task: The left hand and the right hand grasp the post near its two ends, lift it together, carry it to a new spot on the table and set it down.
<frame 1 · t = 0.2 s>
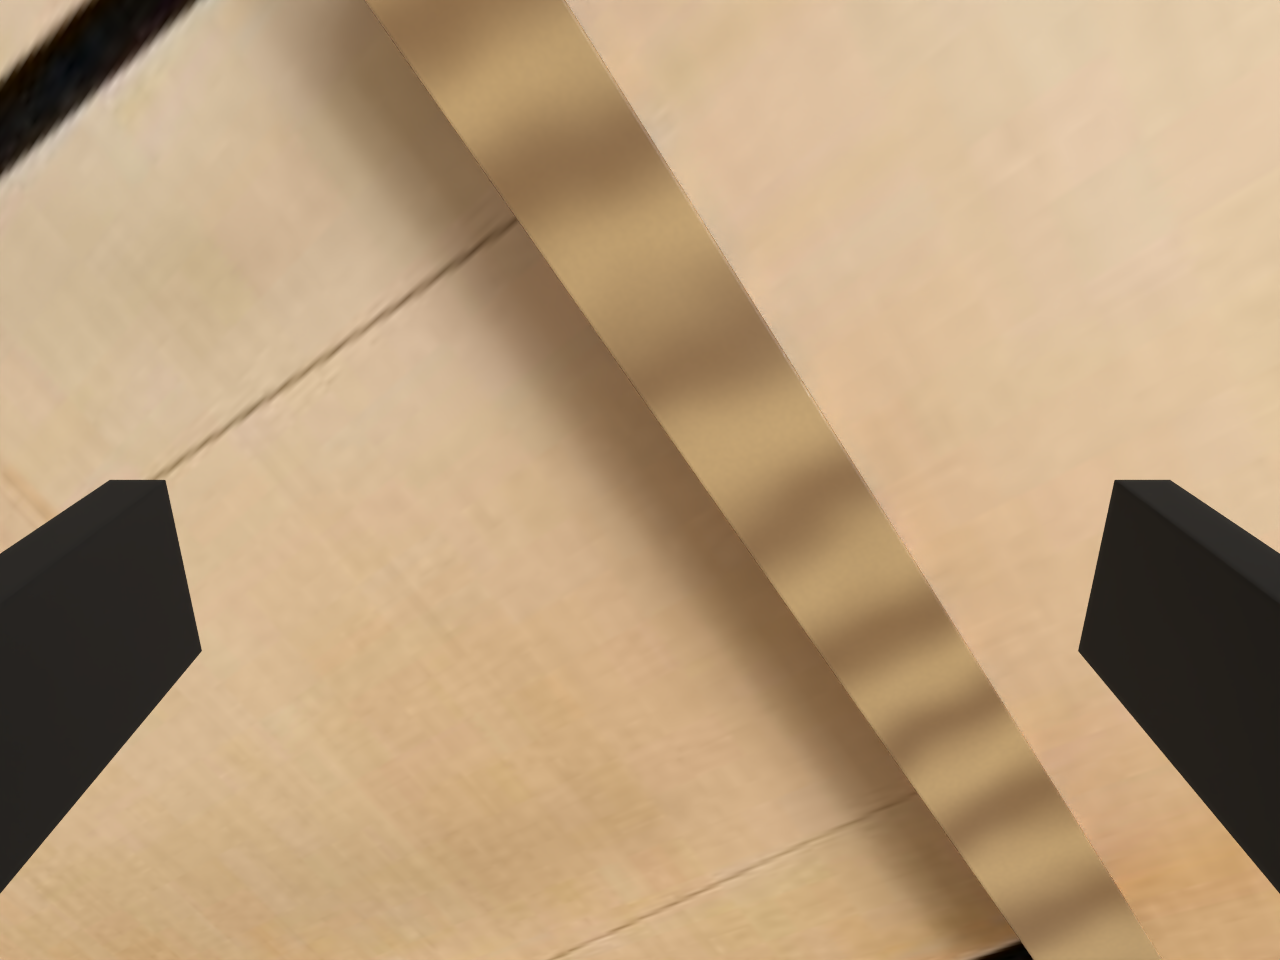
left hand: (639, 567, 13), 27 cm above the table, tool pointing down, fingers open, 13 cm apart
post: (829, 526, 42), on the table
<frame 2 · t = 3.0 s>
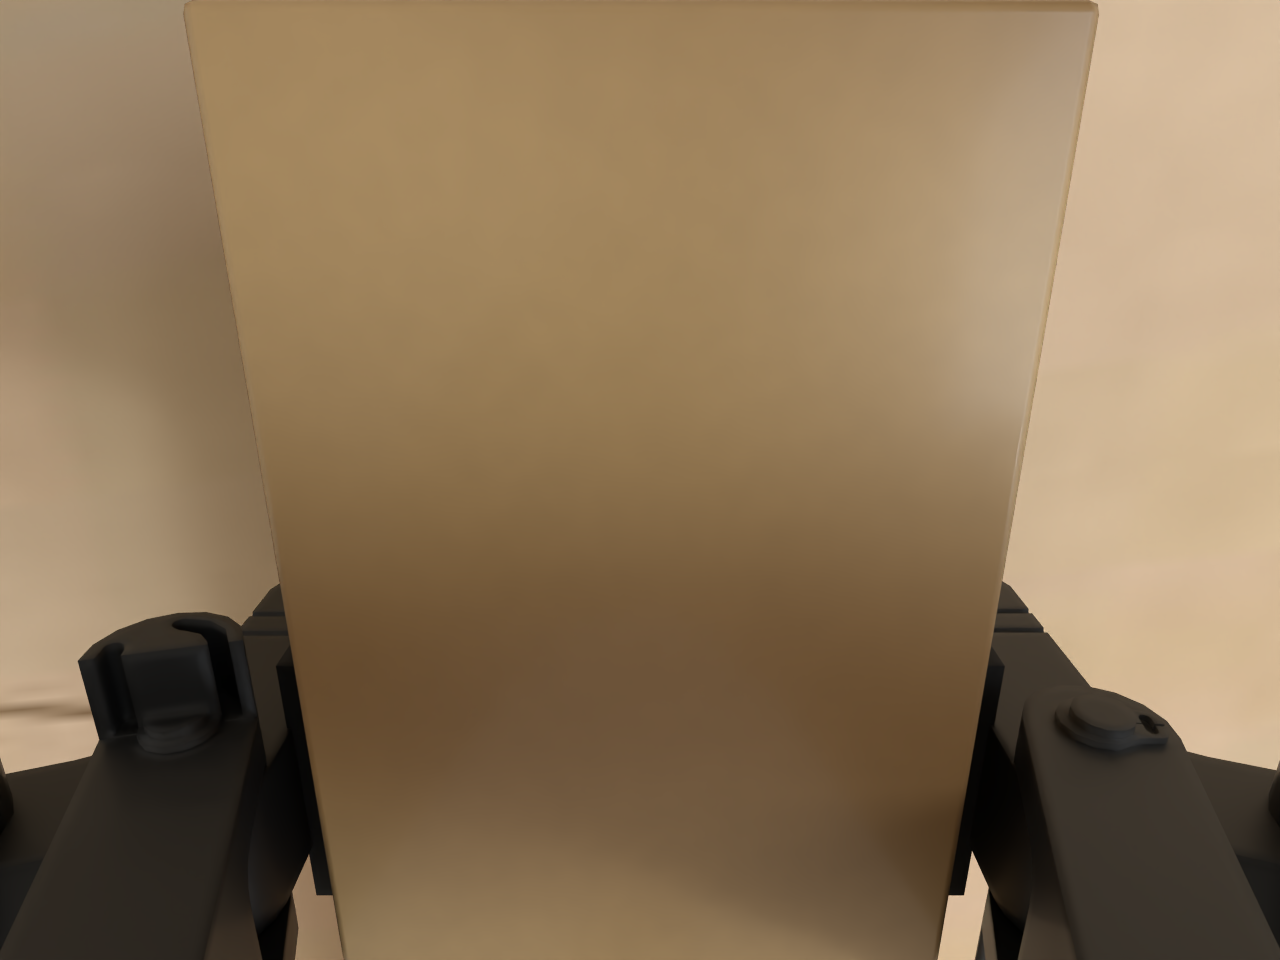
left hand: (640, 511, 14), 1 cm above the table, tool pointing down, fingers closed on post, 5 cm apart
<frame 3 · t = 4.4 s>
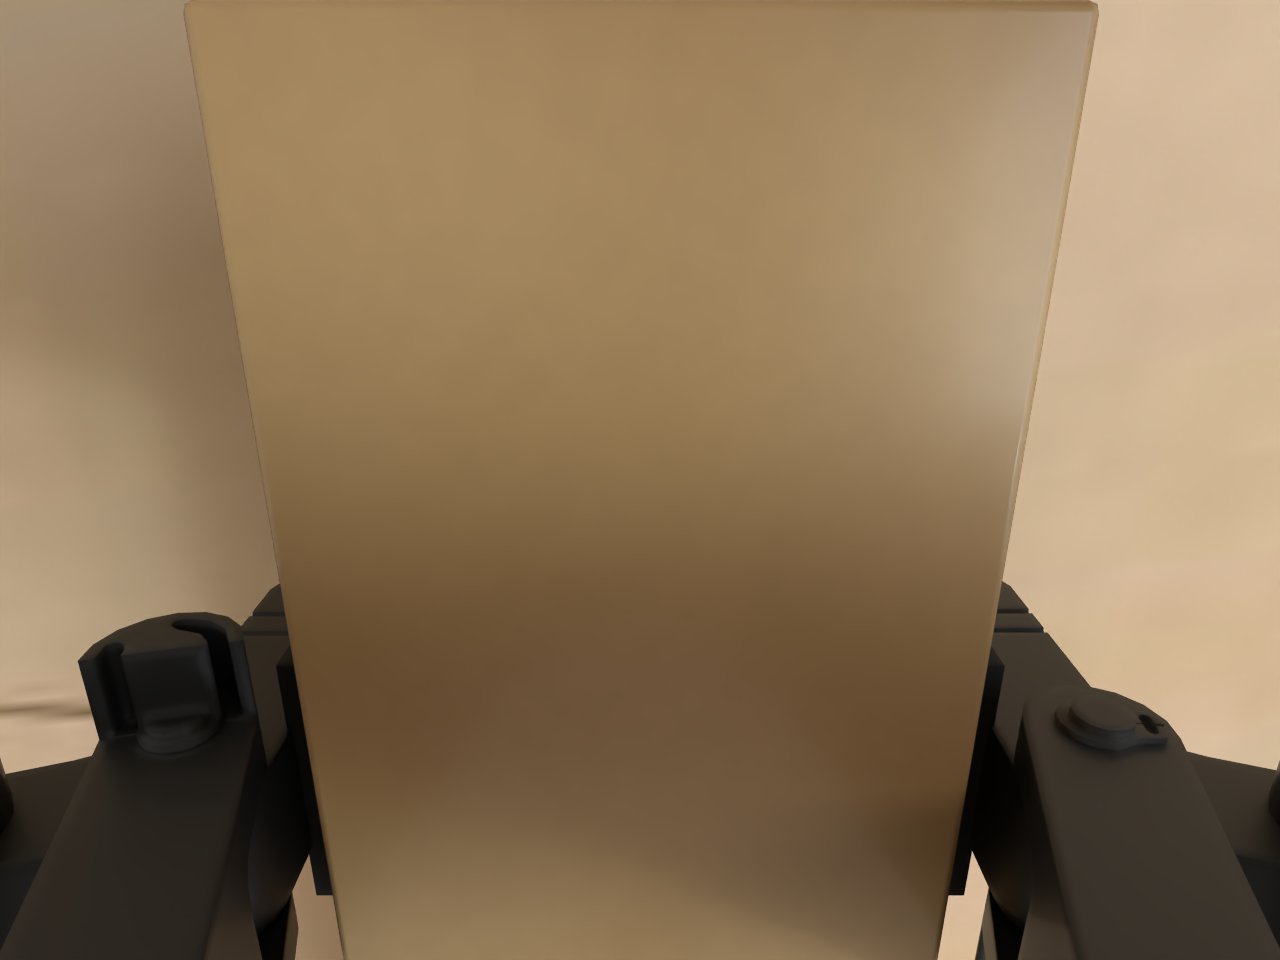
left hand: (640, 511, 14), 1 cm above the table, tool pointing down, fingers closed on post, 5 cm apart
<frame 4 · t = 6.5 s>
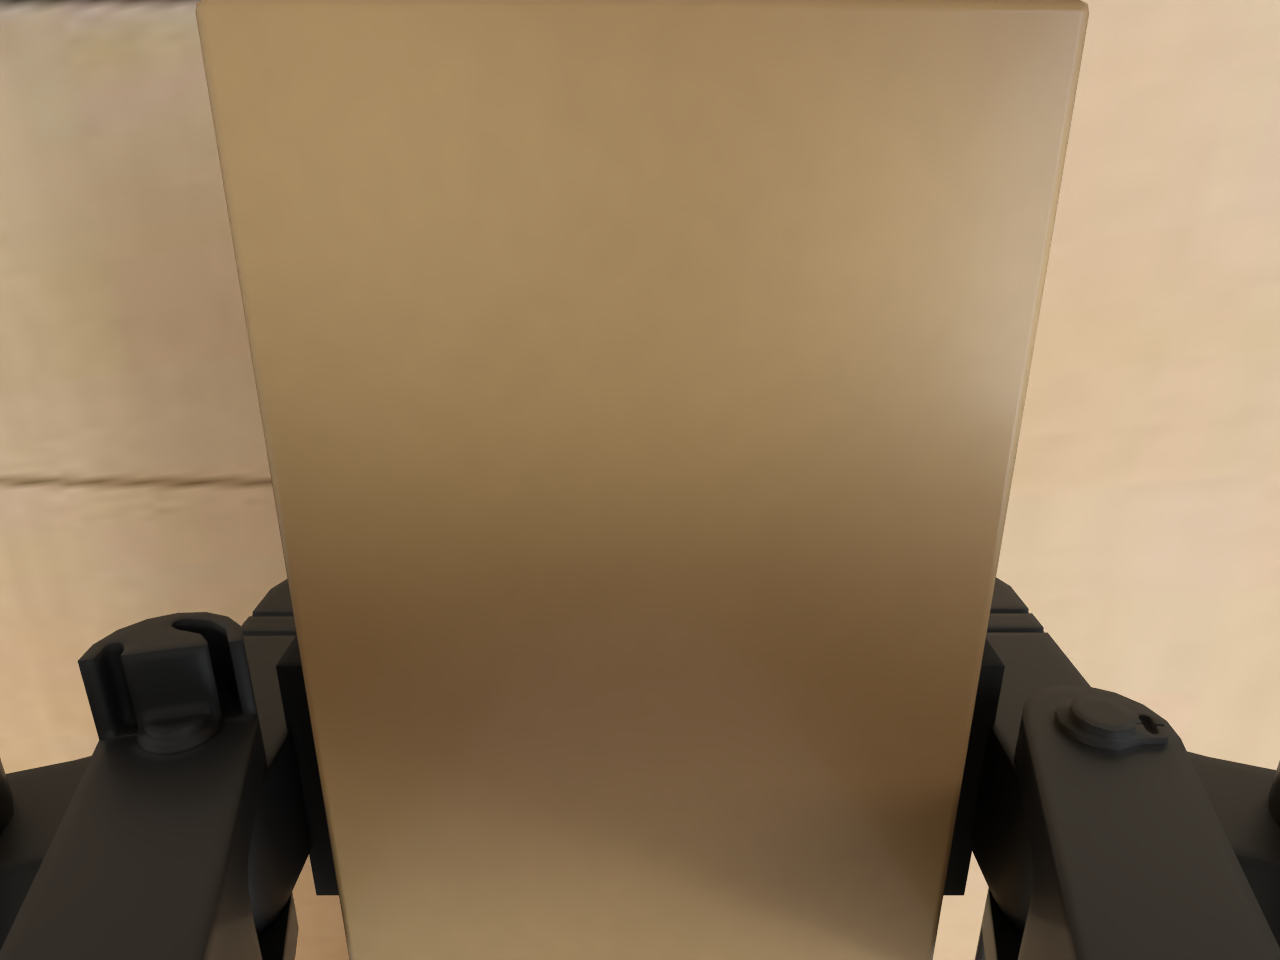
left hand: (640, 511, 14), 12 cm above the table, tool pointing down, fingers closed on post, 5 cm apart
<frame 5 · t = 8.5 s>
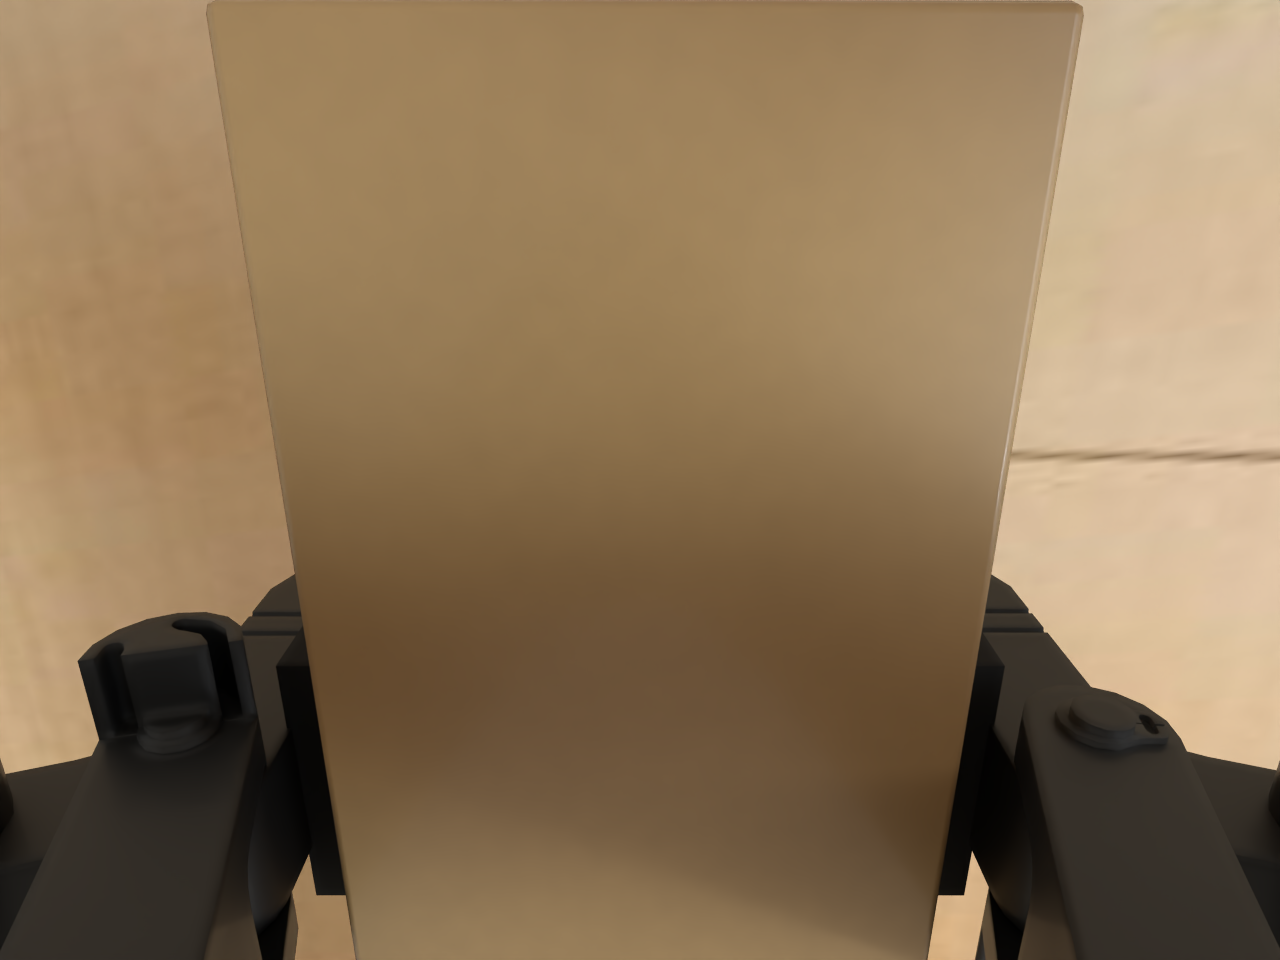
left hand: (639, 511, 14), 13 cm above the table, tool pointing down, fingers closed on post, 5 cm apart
when the left hand's fingers open (2 cm above the table, at t = 10.1 s): post moves 1 cm, on the table.
when the right hand's fingers open (5 cm above the table, at t = 10.3 s): post stays where it is, on the table.
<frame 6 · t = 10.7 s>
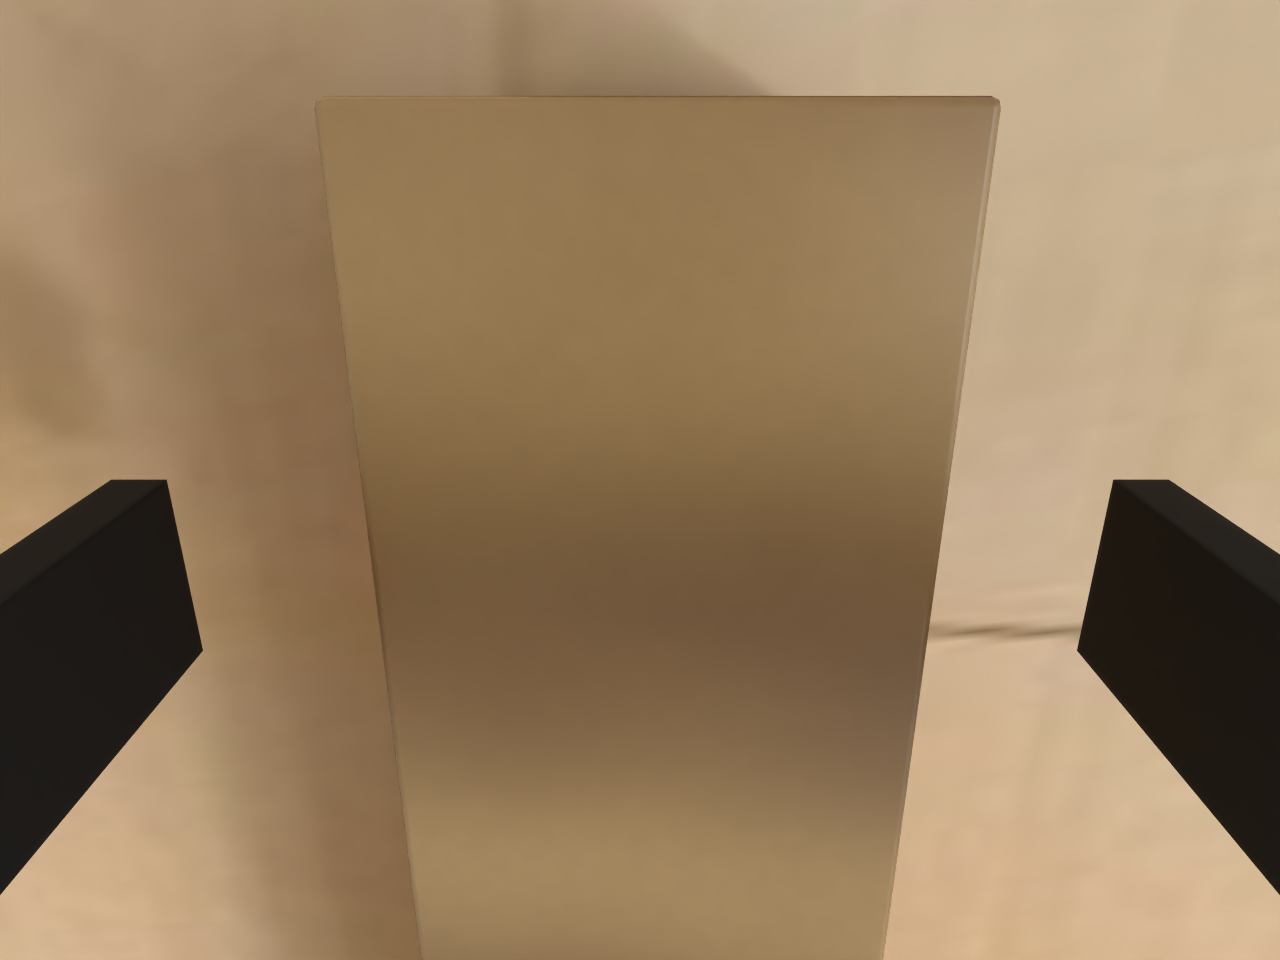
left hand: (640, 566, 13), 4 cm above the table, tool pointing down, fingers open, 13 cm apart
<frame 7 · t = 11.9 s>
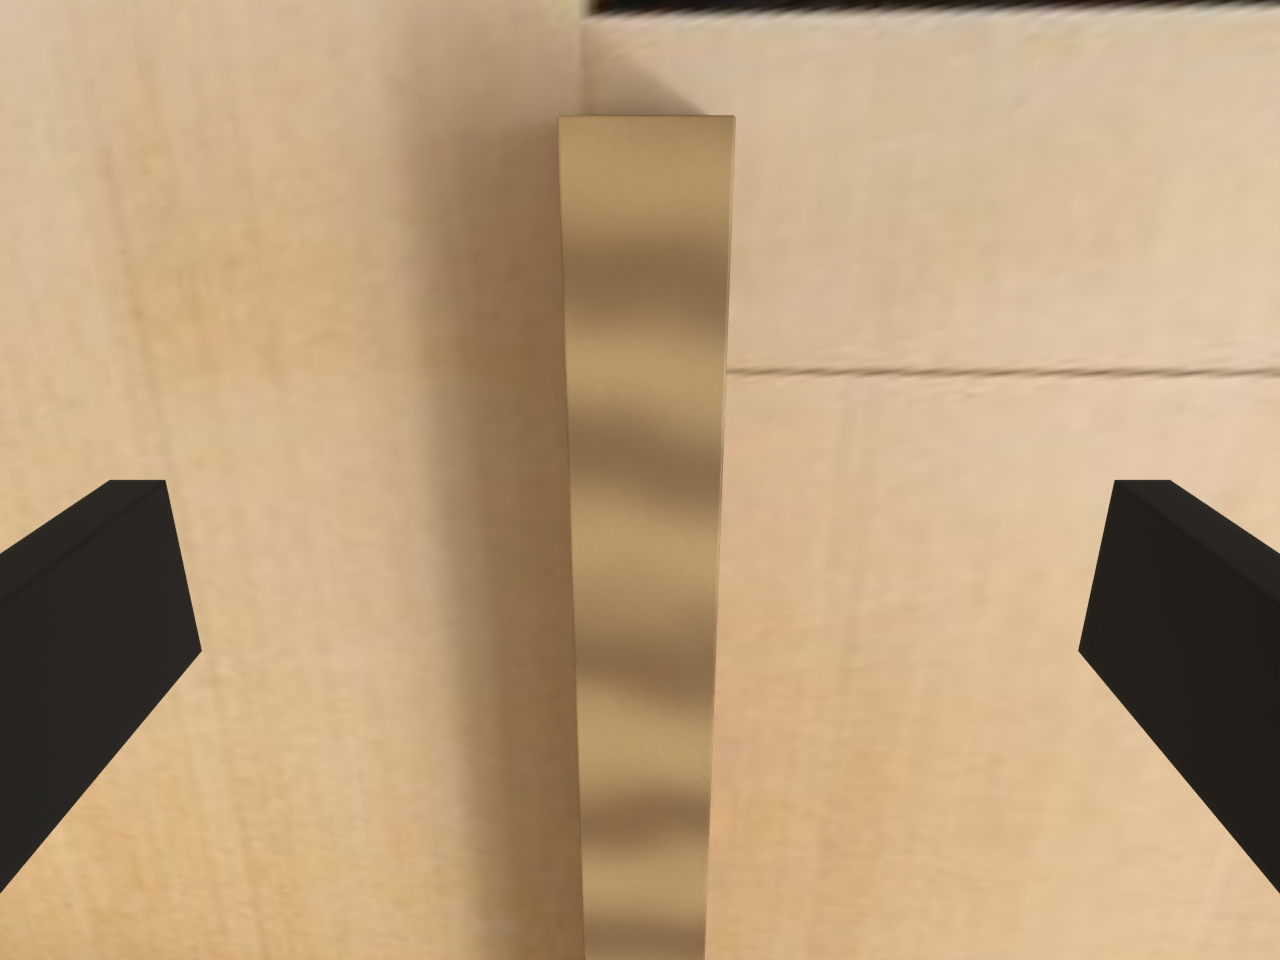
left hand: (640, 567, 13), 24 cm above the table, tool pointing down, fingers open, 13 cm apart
post: (643, 781, 44), on the table
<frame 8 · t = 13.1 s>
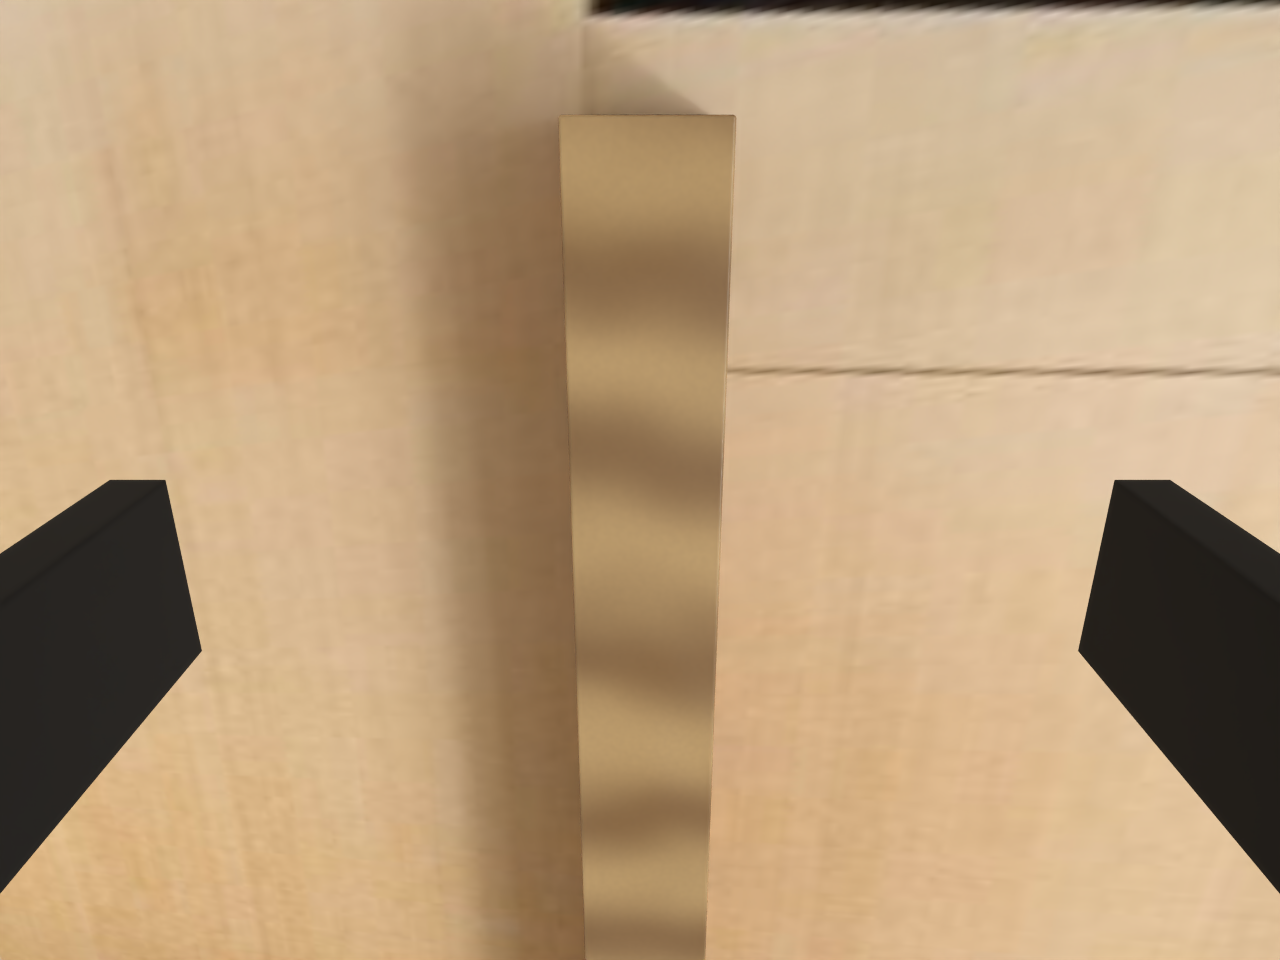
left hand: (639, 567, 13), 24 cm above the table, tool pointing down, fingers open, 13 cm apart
post: (644, 780, 44), on the table
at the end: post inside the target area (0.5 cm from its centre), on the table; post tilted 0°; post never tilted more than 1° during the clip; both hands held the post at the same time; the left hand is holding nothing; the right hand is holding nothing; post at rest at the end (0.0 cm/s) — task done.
